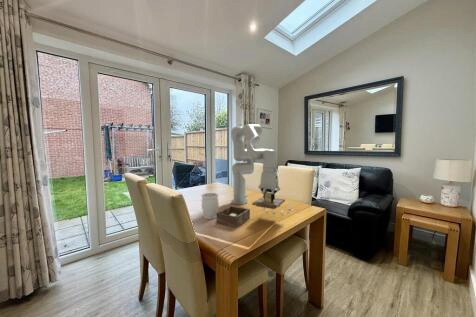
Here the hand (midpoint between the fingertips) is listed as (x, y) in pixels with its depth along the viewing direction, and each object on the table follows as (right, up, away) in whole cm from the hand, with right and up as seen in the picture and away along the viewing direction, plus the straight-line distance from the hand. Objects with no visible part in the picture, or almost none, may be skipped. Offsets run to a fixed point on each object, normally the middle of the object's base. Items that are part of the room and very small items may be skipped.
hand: (269, 199), depth 130 cm
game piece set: (+9, -12, +23) cm, 27 cm away
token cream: (-22, -13, +4) cm, 25 cm away
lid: (0, -2, 0) cm, 2 cm away
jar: (-37, -13, +8) cm, 40 cm away
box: (-22, -14, 0) cm, 26 cm away
